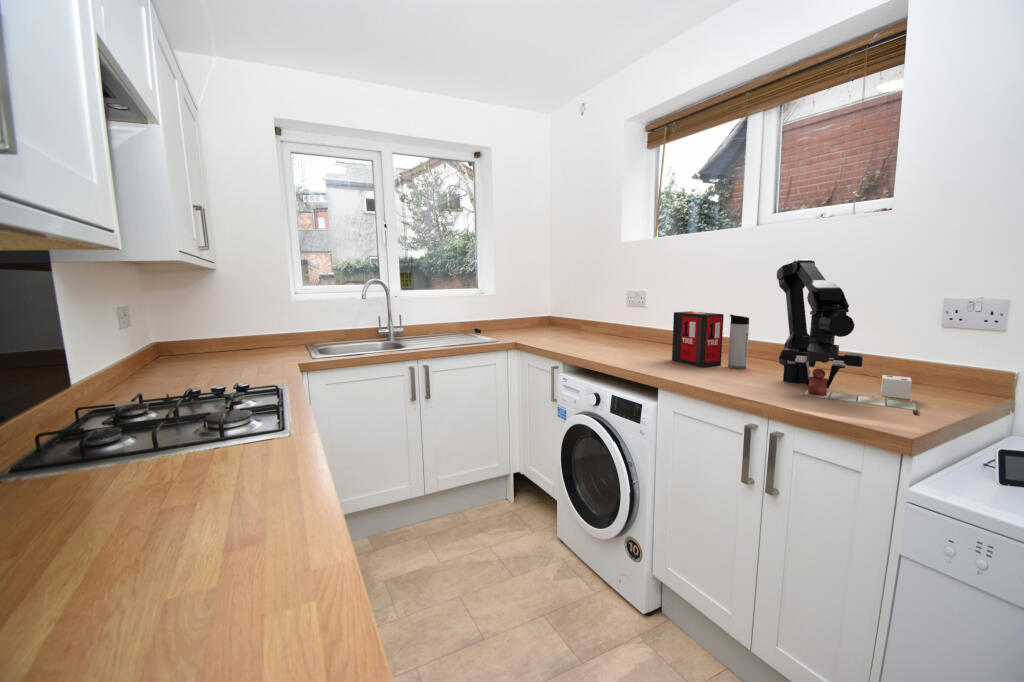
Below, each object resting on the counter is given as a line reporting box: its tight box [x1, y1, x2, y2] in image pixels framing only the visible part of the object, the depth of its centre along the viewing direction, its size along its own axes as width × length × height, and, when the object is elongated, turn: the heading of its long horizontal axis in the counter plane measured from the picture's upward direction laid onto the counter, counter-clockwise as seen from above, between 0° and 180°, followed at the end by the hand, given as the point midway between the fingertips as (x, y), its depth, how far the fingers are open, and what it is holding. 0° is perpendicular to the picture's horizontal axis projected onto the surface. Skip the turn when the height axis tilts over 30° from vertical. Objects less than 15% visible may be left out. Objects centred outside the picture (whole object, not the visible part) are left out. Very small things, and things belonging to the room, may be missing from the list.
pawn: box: [807, 367, 828, 396], centre depth 125 cm, size 4×4×7 cm
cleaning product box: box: [671, 311, 725, 369], centre depth 176 cm, size 16×9×20 cm, turn 24°
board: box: [802, 388, 919, 416], centre depth 120 cm, size 24×9×1 cm, turn 51°
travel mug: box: [727, 314, 750, 370], centre depth 167 cm, size 6×7×20 cm
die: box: [880, 374, 913, 400], centre depth 123 cm, size 6×6×6 cm
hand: (817, 386), depth 126 cm, fingers closed on pawn, 4 cm apart
